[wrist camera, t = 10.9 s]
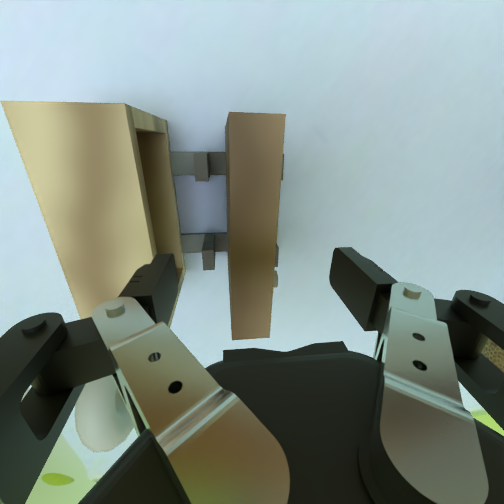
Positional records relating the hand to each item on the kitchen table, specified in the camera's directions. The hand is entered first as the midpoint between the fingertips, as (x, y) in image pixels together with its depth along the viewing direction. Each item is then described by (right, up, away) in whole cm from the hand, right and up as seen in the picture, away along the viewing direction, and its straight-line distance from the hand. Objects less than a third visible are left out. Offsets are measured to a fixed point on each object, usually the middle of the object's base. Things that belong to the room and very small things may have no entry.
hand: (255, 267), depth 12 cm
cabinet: (-6, +5, +12) cm, 14 cm away
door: (-2, +6, +12) cm, 13 cm away
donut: (-16, -13, +19) cm, 28 cm away
